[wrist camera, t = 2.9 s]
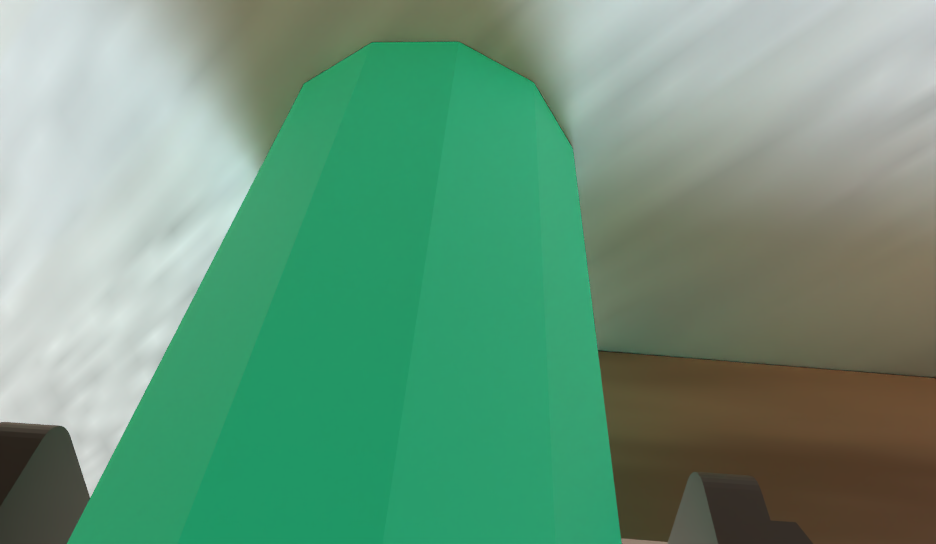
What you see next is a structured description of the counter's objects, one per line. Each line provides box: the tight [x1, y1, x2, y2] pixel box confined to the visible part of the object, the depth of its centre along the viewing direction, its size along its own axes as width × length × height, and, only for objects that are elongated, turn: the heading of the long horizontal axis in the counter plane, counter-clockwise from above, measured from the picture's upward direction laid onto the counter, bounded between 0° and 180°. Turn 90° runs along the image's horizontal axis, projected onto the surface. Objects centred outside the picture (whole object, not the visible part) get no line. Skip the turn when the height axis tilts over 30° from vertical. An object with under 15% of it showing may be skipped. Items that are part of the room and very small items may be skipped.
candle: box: [67, 42, 622, 544], centre depth 11 cm, size 6×6×12 cm
